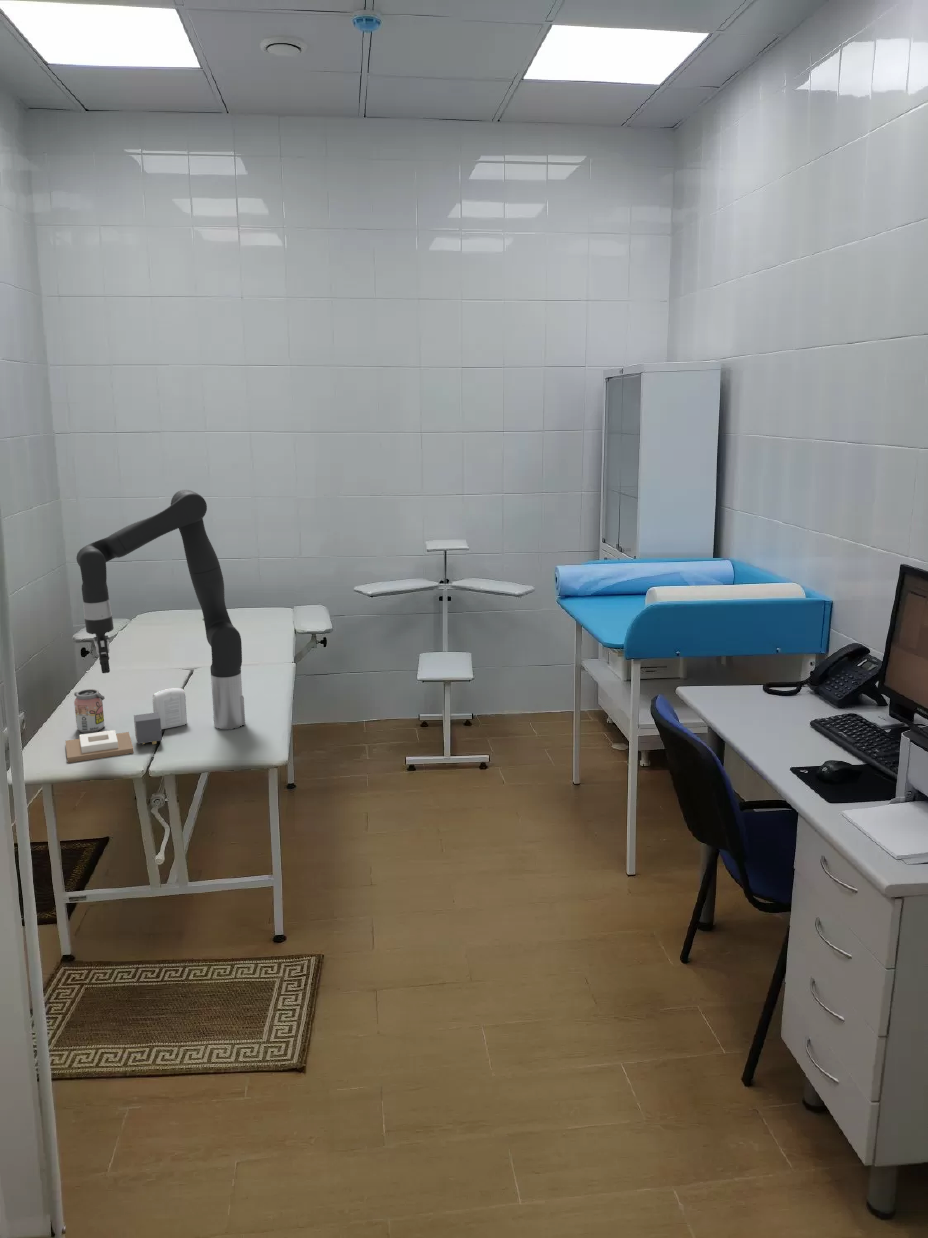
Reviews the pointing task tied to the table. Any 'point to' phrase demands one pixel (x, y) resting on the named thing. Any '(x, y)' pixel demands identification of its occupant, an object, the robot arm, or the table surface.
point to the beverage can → (89, 710)
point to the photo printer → (170, 707)
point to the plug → (147, 728)
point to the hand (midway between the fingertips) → (105, 668)
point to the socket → (98, 746)
